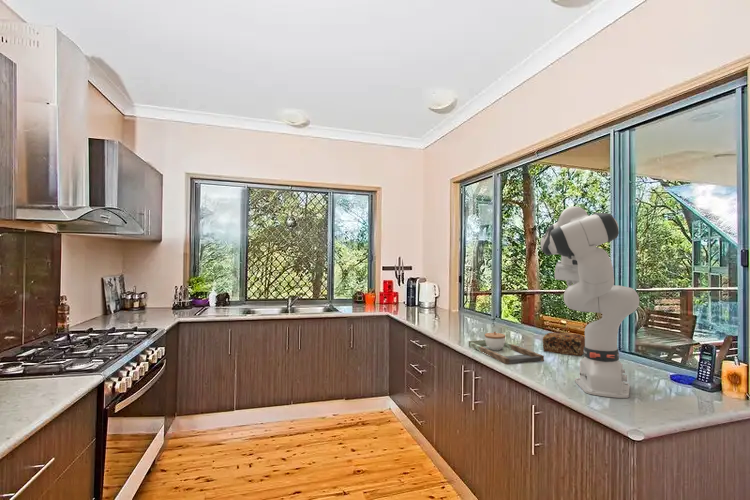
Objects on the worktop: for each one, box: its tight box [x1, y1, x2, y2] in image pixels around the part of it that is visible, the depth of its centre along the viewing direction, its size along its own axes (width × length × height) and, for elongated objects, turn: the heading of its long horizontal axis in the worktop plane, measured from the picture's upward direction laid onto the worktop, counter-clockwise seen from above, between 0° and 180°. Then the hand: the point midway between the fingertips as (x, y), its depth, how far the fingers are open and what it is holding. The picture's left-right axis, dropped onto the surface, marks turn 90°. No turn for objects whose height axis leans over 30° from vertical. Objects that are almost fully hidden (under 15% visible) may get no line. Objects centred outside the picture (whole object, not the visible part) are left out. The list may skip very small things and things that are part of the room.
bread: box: [542, 332, 585, 357], centre depth 205 cm, size 19×11×10 cm, turn 49°
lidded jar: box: [484, 331, 506, 351], centre depth 213 cm, size 11×11×9 cm
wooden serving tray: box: [468, 339, 545, 365], centre depth 204 cm, size 38×20×3 cm, turn 14°
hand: (572, 290), depth 183 cm, fingers closed
